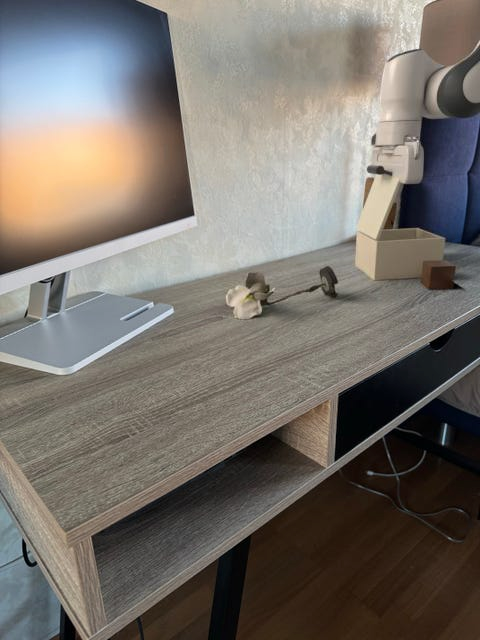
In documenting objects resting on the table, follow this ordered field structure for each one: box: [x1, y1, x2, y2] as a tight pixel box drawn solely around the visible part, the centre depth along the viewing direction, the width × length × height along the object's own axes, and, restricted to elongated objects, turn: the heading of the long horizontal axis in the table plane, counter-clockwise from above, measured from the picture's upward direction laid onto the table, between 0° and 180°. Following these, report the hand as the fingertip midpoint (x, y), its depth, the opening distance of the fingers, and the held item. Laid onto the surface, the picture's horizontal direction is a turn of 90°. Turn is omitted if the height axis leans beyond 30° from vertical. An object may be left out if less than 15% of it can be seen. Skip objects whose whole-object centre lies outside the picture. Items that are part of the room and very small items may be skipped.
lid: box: [355, 164, 401, 240], centre depth 101 cm, size 16×14×5 cm
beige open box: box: [354, 227, 446, 281], centre depth 106 cm, size 16×14×9 cm
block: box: [362, 176, 398, 230], centre depth 129 cm, size 11×8×20 cm
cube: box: [420, 259, 457, 291], centre depth 94 cm, size 5×5×5 cm
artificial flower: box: [225, 265, 339, 320], centre depth 85 cm, size 9×22×10 cm, turn 107°
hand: (392, 201), depth 101 cm, fingers closed, pressing on lid
